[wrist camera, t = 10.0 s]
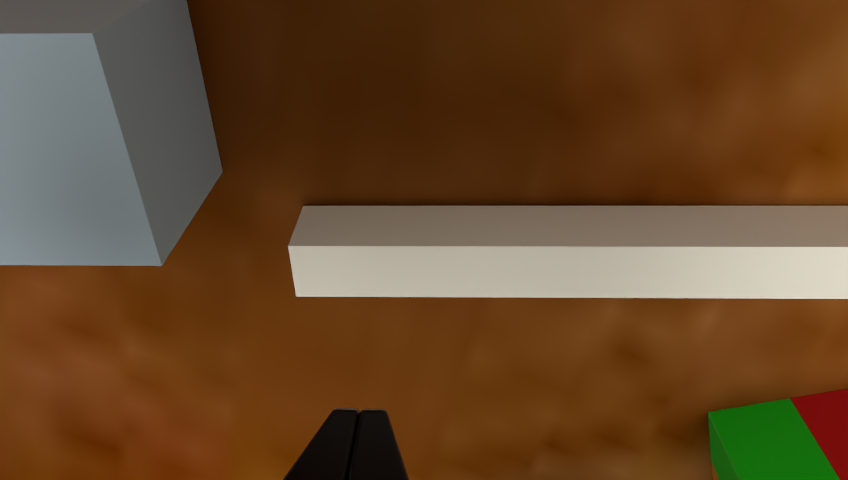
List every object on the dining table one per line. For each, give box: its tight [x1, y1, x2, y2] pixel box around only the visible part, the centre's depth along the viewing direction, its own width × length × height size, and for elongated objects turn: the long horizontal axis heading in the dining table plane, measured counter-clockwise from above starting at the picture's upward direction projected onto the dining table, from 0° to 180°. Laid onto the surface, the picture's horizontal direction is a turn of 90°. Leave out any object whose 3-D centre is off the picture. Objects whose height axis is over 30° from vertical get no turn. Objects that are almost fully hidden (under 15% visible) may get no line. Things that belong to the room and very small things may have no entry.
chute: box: [288, 206, 848, 299], centre depth 18 cm, size 12×20×2 cm, turn 91°
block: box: [0, 0, 223, 266], centre depth 17 cm, size 6×6×6 cm
